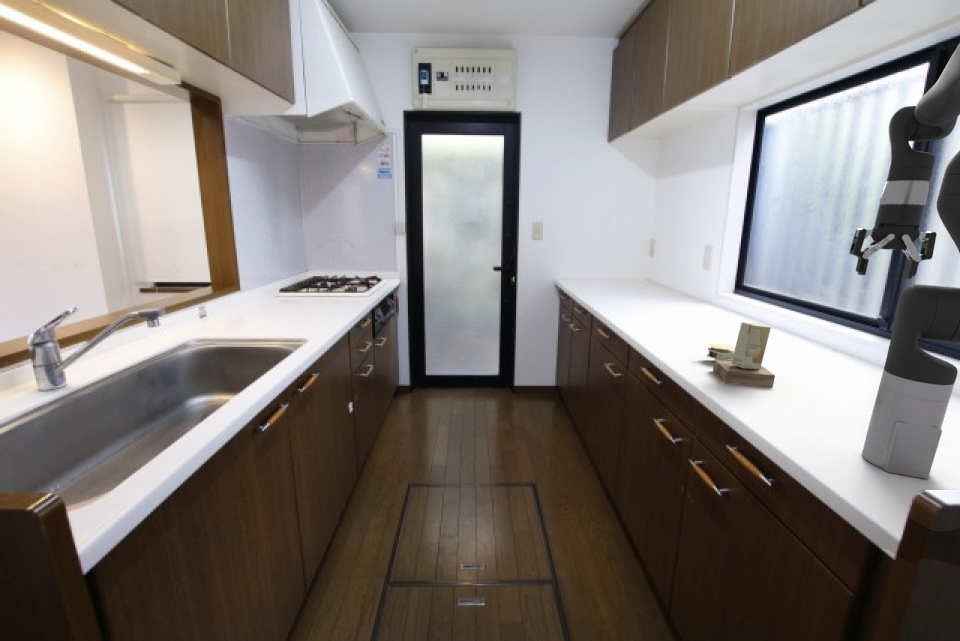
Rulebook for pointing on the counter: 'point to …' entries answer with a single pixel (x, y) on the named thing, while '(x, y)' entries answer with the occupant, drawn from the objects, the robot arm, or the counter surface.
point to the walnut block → (743, 374)
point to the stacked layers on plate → (721, 352)
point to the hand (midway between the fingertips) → (884, 276)
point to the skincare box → (751, 345)
